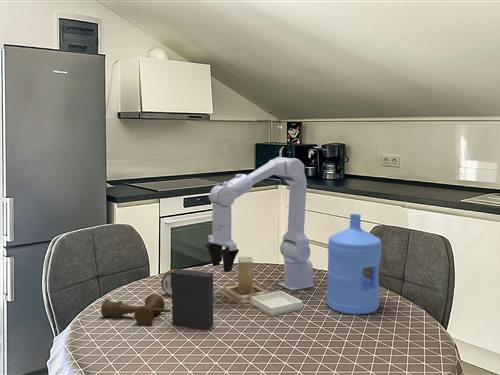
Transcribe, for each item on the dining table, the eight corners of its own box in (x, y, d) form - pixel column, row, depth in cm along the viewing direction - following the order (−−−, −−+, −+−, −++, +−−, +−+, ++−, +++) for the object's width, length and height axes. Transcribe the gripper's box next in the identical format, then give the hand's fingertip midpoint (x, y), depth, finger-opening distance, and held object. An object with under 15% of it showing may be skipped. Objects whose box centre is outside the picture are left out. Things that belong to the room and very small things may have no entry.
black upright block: (214, 325, 136) (214, 272, 134) (208, 331, 132) (207, 276, 130) (178, 320, 140) (177, 268, 138) (171, 325, 136) (170, 272, 134)
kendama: (111, 311, 148) (177, 314, 144) (96, 325, 138) (166, 328, 135) (110, 292, 147) (175, 294, 143) (95, 304, 137) (165, 307, 134)
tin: (209, 295, 160) (208, 269, 159) (207, 298, 157) (207, 272, 156) (163, 293, 162) (162, 268, 161) (160, 296, 159) (160, 271, 158)
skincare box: (237, 293, 163) (238, 256, 161) (251, 292, 163) (251, 256, 162) (239, 299, 156) (239, 261, 155) (253, 299, 157) (253, 261, 155)
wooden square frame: (250, 288, 167) (250, 282, 167) (269, 298, 158) (269, 292, 158) (221, 294, 162) (221, 288, 161) (239, 304, 152) (239, 298, 152)
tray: (280, 298, 158) (280, 290, 158) (302, 309, 149) (302, 301, 148) (250, 304, 152) (250, 296, 152) (271, 316, 143) (271, 308, 142)
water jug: (323, 312, 146) (325, 218, 143) (329, 295, 161) (331, 209, 158) (378, 318, 142) (382, 221, 139) (379, 299, 157) (383, 212, 154)
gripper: (199, 222, 156) (199, 264, 158) (221, 230, 144) (221, 276, 146) (219, 220, 160) (219, 261, 162) (242, 228, 148) (242, 272, 150)
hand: (221, 268), depth 154 cm, fingers open, 7 cm apart
